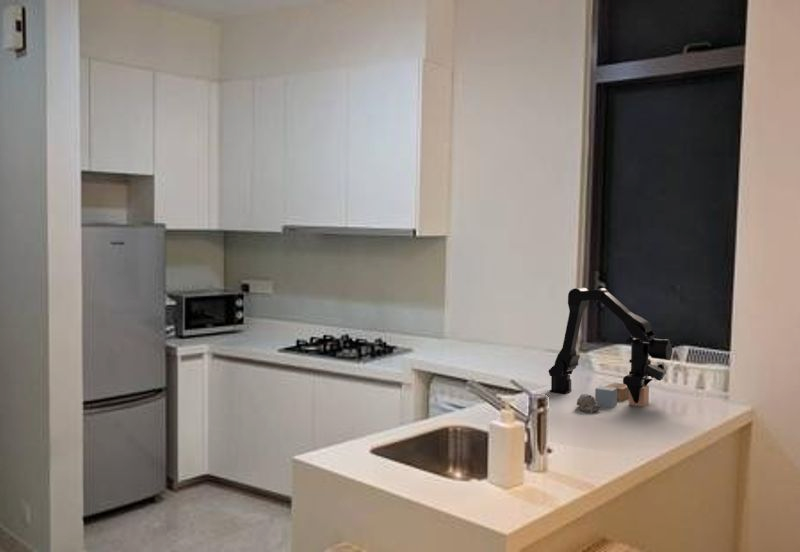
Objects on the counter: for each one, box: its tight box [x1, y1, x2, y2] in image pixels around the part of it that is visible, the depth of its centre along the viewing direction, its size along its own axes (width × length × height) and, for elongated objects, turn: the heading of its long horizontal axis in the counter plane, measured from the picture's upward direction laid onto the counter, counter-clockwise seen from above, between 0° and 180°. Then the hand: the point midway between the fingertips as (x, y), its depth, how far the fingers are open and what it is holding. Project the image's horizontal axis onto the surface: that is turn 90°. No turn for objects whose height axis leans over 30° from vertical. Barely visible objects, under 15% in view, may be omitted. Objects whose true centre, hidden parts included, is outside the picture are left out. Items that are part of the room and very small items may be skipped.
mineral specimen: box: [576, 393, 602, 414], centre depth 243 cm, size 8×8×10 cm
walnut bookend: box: [604, 382, 629, 402], centre depth 260 cm, size 7×9×4 cm
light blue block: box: [594, 385, 618, 409], centre depth 248 cm, size 6×5×6 cm
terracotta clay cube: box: [628, 385, 650, 407], centre depth 250 cm, size 6×5×6 cm
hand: (638, 401), depth 250 cm, fingers closed on terracotta clay cube, 6 cm apart
